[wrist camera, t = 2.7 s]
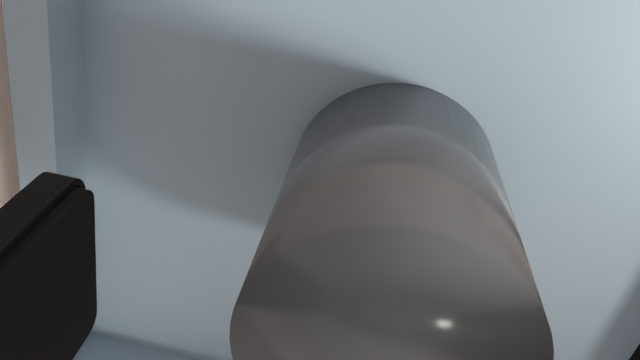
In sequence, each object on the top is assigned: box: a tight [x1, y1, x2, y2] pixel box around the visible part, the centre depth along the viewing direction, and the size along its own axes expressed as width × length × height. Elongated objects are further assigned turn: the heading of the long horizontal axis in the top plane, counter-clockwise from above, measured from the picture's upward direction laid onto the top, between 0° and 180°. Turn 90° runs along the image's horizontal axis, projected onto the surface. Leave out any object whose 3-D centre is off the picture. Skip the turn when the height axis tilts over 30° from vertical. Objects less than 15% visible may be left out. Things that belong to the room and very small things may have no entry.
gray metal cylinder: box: [229, 83, 554, 360], centre depth 11 cm, size 5×5×6 cm
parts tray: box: [1, 0, 640, 360], centre depth 14 cm, size 18×18×2 cm
